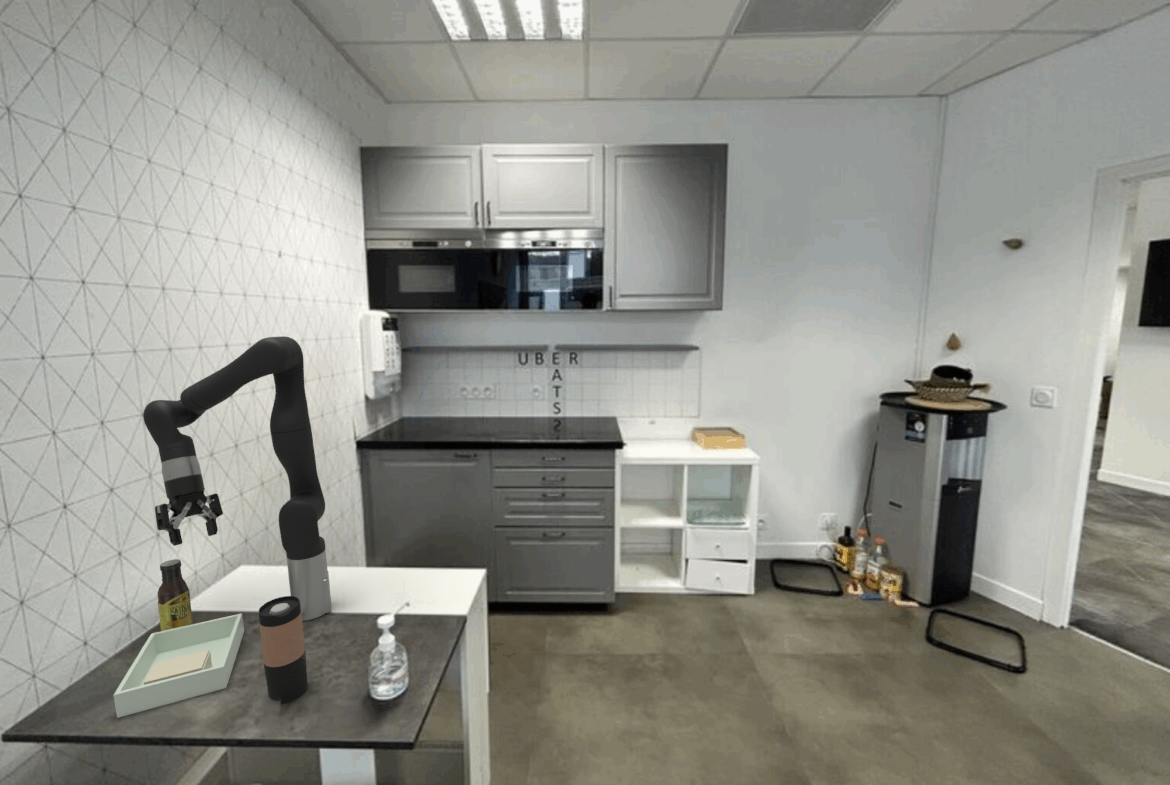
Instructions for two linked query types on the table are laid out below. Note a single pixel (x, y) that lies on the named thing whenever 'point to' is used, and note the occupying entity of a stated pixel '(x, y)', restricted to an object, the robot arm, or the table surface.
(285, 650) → the travel mug
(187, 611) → the sauce bottle
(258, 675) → the table surface
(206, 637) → the tote
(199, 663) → the beige lidded box
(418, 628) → the table surface
